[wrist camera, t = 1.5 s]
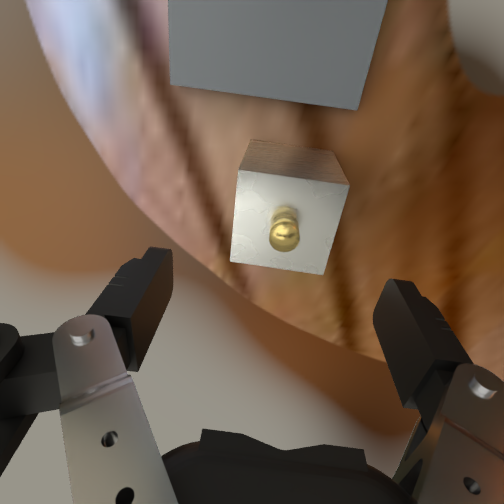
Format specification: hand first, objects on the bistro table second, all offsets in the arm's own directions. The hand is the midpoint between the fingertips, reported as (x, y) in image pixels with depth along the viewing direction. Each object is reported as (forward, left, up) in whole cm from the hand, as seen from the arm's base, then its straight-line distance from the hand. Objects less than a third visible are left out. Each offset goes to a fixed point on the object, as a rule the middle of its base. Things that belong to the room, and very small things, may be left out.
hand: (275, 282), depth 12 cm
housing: (0, 0, -10) cm, 10 cm away
